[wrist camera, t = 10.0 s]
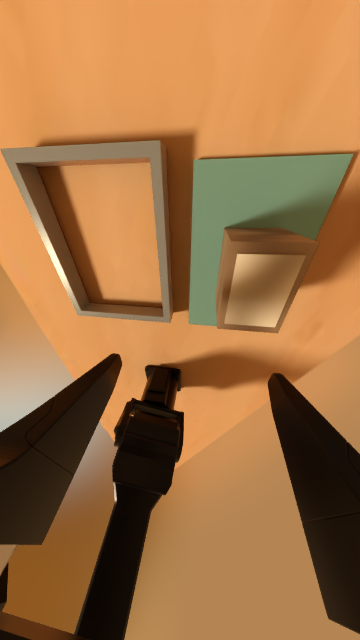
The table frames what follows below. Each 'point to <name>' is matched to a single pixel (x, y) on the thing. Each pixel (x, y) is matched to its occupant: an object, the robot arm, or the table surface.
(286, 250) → the walnut block
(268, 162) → the mat
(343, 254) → the table surface
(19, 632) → the robot arm
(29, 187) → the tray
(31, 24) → the table surface
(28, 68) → the table surface
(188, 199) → the table surface
